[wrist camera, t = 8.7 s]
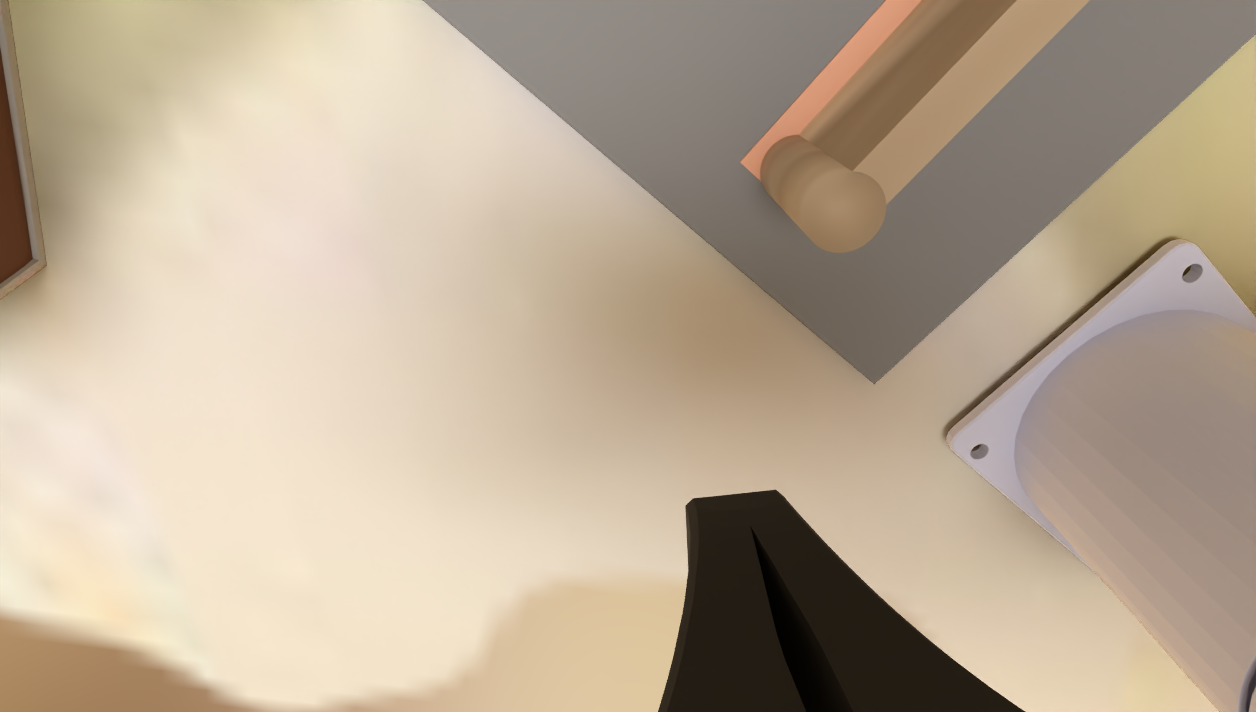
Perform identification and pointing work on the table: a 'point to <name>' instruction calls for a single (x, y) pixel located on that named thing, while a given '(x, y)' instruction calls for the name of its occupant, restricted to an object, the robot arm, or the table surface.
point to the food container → (15, 175)
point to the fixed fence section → (903, 112)
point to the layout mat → (800, 88)
